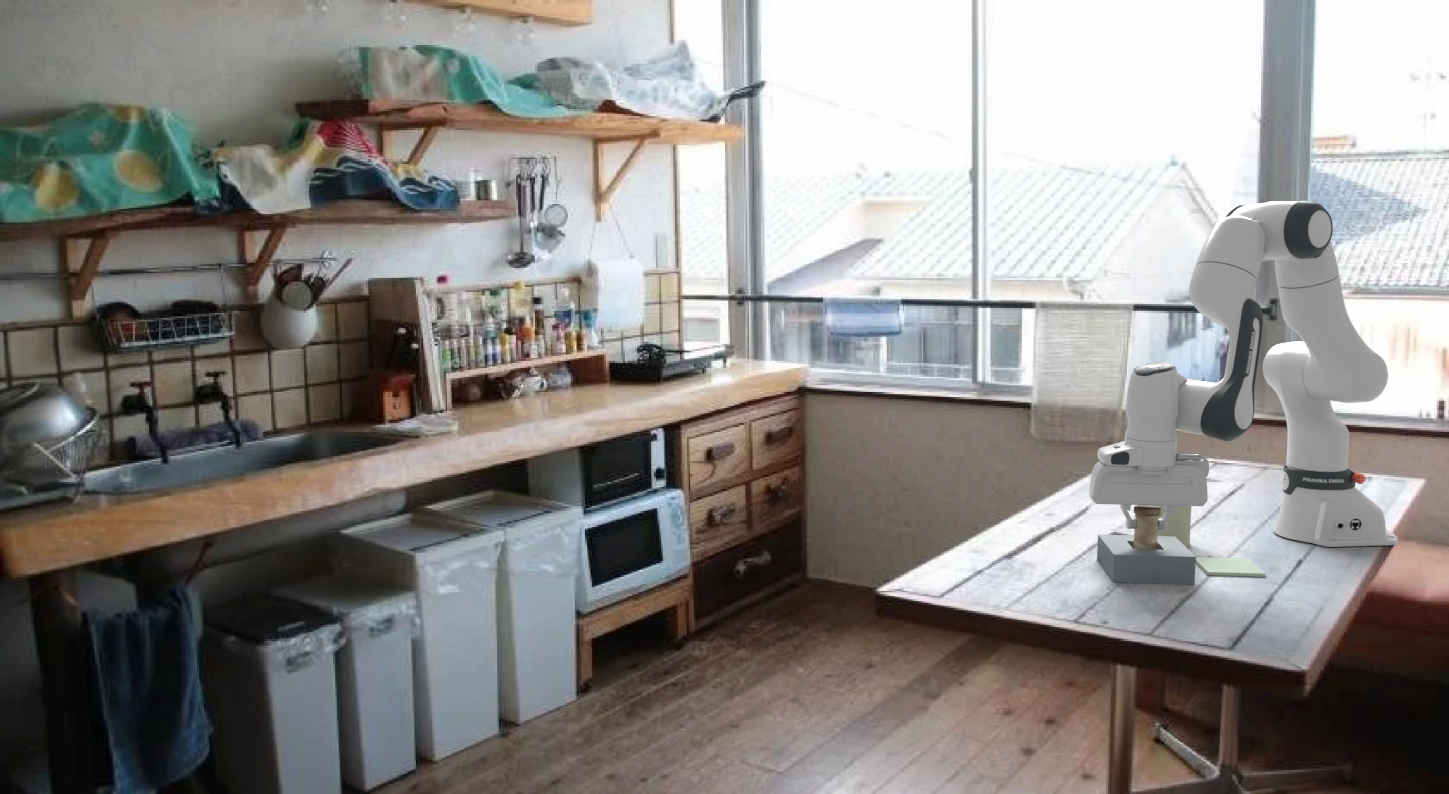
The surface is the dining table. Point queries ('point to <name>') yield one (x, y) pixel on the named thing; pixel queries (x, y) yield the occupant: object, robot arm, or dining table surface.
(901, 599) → the dining table surface
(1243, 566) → the mat
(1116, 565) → the socket
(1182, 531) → the can
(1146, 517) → the plug
